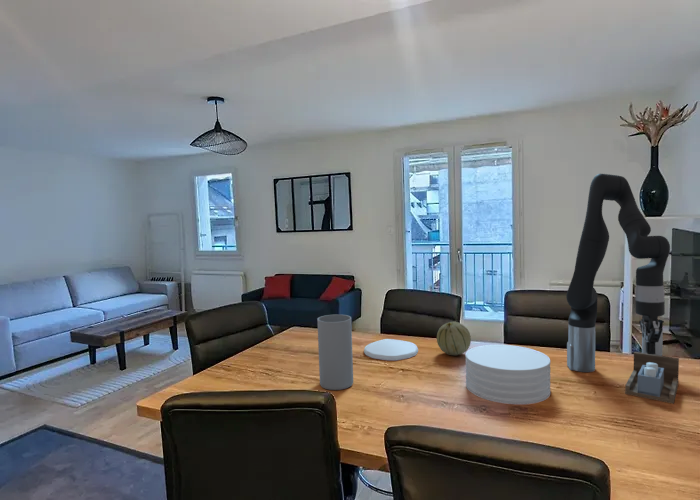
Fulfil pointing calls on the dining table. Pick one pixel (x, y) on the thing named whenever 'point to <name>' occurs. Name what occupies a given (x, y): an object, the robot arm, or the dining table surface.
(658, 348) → the travel mug
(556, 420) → the dining table surface
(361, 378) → the dining table surface
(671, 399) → the shelf
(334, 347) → the cylinder vase
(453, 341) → the cantaloupe
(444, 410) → the dining table surface
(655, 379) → the caddy
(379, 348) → the decorative plate
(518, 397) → the plate stack
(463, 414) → the dining table surface
